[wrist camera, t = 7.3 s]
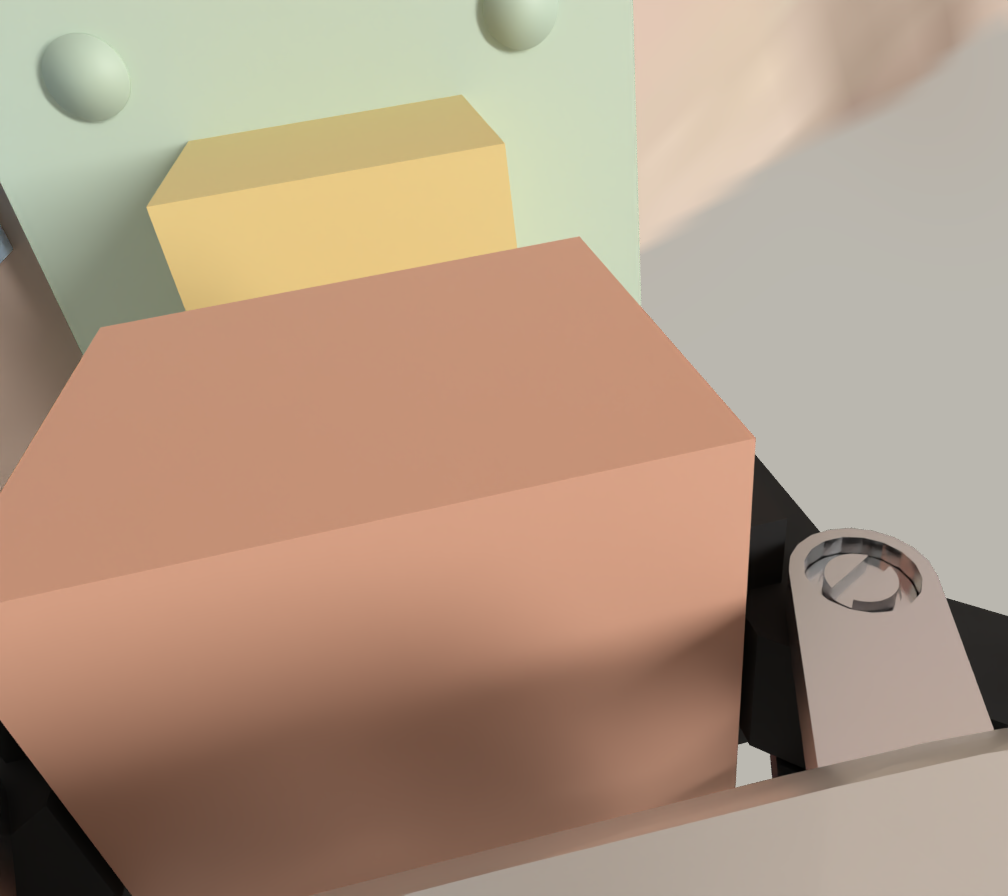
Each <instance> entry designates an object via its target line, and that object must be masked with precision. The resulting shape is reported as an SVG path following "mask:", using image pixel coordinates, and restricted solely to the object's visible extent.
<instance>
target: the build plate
mask: <svg viewBox="0 0 1008 896" xmlns="http://www.w3.org/2000/svg"><path fill="white" fill-rule="evenodd" d="M461 94H462V95H463V96H464V98H465V99H466V100H467V101H468V102H469V103H470V104H471V106H472V107H473V108H474V109H475V110H476V111H477V112H478V113H479V115H480V116H481V117H482V118H483V119H484V120H485V121H486V123H487V124H488V125H489V126H490V127H491V128H492V129H493V130H494V132H495V133H496V134H497V135H498V136H499V137H500V138H501V139H502V141H503V142H504V143H505V148H506V156H507V165H508V173H509V182H510V190H511V199H512V207H513V216H514V224H515V233H516V241H517V248H521V247H526V246H531V245H536V244H542V243H547V242H552V241H557V240H563V239H568V238H573V237H578V236H580V237H581V239H582V240H583V241H584V242H585V243H586V244H587V246H588V247H589V248H590V249H591V250H592V251H593V252H594V254H595V255H596V256H597V257H598V258H599V259H600V260H601V262H602V263H603V264H604V265H605V266H606V267H607V268H608V270H609V271H610V272H611V273H612V274H613V275H614V276H615V278H616V279H617V280H618V281H619V282H620V283H621V284H622V286H623V287H624V288H625V289H626V290H627V291H628V292H629V294H630V295H631V296H632V297H633V298H634V299H635V301H636V302H637V303H638V304H639V305H640V306H641V282H640V245H639V209H638V172H637V135H636V99H635V62H634V26H633V0H0V182H1V185H2V187H3V189H4V191H5V193H6V195H7V197H8V199H9V201H10V203H11V206H12V208H13V210H14V212H15V214H16V216H17V218H18V220H19V222H20V224H21V227H22V229H23V231H24V233H25V235H26V237H27V239H28V241H29V243H30V245H31V248H32V250H33V252H34V254H35V256H36V258H37V260H38V262H39V264H40V266H41V269H42V271H43V273H44V275H45V277H46V279H47V281H48V283H49V285H50V287H51V290H52V292H53V294H54V296H55V298H56V300H57V302H58V304H59V306H60V308H61V311H62V313H63V315H64V317H65V319H66V321H67V323H68V325H69V327H70V329H71V331H72V334H73V336H74V338H75V340H76V342H77V344H78V346H79V348H80V350H81V352H82V355H84V353H85V352H86V350H87V348H88V347H89V345H90V343H91V342H92V340H93V338H94V337H95V335H96V334H97V332H98V330H99V329H100V327H105V326H111V325H116V324H121V323H126V322H132V321H137V320H142V319H147V318H153V317H158V316H163V315H168V314H174V313H179V312H184V311H185V308H184V305H183V303H182V300H181V297H180V295H179V292H178V289H177V287H176V284H175V282H174V279H173V276H172V274H171V271H170V268H169V266H168V263H167V261H166V258H165V255H164V253H163V250H162V247H161V245H160V242H159V240H158V237H157V234H156V232H155V229H154V226H153V224H152V221H151V219H150V216H149V213H148V211H147V208H146V207H147V205H148V203H149V202H150V200H151V199H152V197H153V196H154V194H155V193H156V191H157V189H158V188H159V186H160V185H161V183H162V182H163V180H164V179H165V177H166V175H167V174H168V172H169V171H170V169H171V168H172V166H173V165H174V163H175V161H176V160H177V158H178V157H179V155H180V154H181V152H182V150H183V149H184V147H185V146H186V144H187V143H188V141H192V140H198V139H204V138H210V137H216V136H221V135H227V134H233V133H239V132H245V131H251V130H257V129H262V128H268V127H274V126H280V125H286V124H292V123H298V122H303V121H309V120H315V119H321V118H327V117H333V116H339V115H344V114H350V113H356V112H362V111H368V110H374V109H380V108H385V107H391V106H397V105H403V104H409V103H415V102H420V101H426V100H432V99H438V98H444V97H450V96H456V95H461Z"/></svg>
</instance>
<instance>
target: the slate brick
mask: <svg viewBox="0 0 1008 896" xmlns="http://www.w3.org/2000/svg"><path fill="white" fill-rule="evenodd" d="M12 250H13V248H12V246H11V244H10V242H9V240H8V238H7V236H6V234H5V232H4V231H3V229H2V227H1V225H0V263H1V262H2V261H3V260H4V259H5V258H6V257H7V256H8V255H9V254H10V253H11V251H12Z"/></svg>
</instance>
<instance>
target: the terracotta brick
mask: <svg viewBox="0 0 1008 896" xmlns="http://www.w3.org/2000/svg"><path fill="white" fill-rule="evenodd" d="M755 442H756V438H755V437H754V436H753V435H752V433H751V432H750V431H749V430H748V429H747V428H746V427H745V426H744V425H743V423H742V422H741V421H740V420H739V419H738V417H737V416H736V415H735V414H734V413H733V412H732V411H731V409H730V408H729V407H728V406H727V405H726V404H725V402H723V400H722V399H721V398H720V397H719V396H718V395H717V394H716V392H715V391H714V390H713V389H712V388H711V387H710V385H709V384H708V383H707V382H706V381H705V380H704V378H703V377H702V376H701V375H700V374H699V373H698V372H697V370H696V369H695V368H694V367H693V366H692V365H691V364H690V362H689V361H688V360H687V359H686V358H685V357H684V356H683V355H682V353H681V352H680V351H679V350H678V349H677V348H676V347H675V345H674V344H673V343H672V342H671V341H670V340H669V338H668V337H667V336H666V335H665V334H664V333H663V332H662V330H661V329H660V328H659V327H658V326H657V325H656V323H655V322H654V321H653V320H652V319H651V318H650V317H649V315H648V314H647V313H646V312H645V311H644V310H643V309H642V307H641V306H640V305H639V304H638V303H637V302H636V301H635V299H634V298H633V297H632V296H631V295H630V294H629V292H628V291H627V290H626V289H625V288H624V287H623V286H622V284H621V283H620V282H619V281H618V280H617V279H616V278H615V276H614V275H613V274H612V273H611V272H610V271H609V270H608V268H607V267H606V266H605V265H604V264H603V263H602V262H601V260H600V259H599V258H598V257H597V256H596V255H595V254H594V252H593V251H592V250H591V249H590V248H589V247H588V246H587V244H586V243H585V242H584V241H583V240H582V239H581V237H580V236H578V237H573V238H568V239H563V240H557V241H552V242H547V243H542V244H536V245H531V246H526V247H521V248H515V249H510V250H505V251H500V252H494V253H489V254H484V255H479V256H473V257H468V258H463V259H458V260H452V261H447V262H442V263H437V264H431V265H426V266H421V267H416V268H410V269H405V270H400V271H394V272H389V273H384V274H379V275H373V276H368V277H363V278H358V279H352V280H347V281H342V282H337V283H331V284H326V285H321V286H316V287H310V288H305V289H300V290H295V291H289V292H284V293H279V294H274V295H268V296H263V297H258V298H253V299H247V300H242V301H237V302H232V303H226V304H221V305H216V306H211V307H205V308H200V309H195V310H189V311H184V312H179V313H174V314H168V315H163V316H158V317H153V318H147V319H142V320H137V321H132V322H126V323H121V324H116V325H111V326H105V327H100V329H99V330H98V332H97V334H96V335H95V337H94V338H93V340H92V342H91V343H90V345H89V347H88V348H87V350H86V352H85V353H84V355H83V357H82V358H81V360H80V362H79V363H78V365H77V367H76V368H75V370H74V372H73V373H72V375H71V377H70V378H69V380H68V382H67V383H66V385H65V387H64V388H63V390H62V391H61V393H60V395H59V396H58V398H57V400H56V401H55V403H54V405H53V406H52V408H51V410H50V411H49V413H48V415H47V416H46V418H45V420H44V421H43V423H42V425H41V426H40V428H39V430H38V431H37V433H36V435H35V436H34V438H33V439H32V441H31V443H30V444H29V446H28V448H27V449H26V451H25V453H24V454H23V456H22V458H21V459H20V461H19V463H18V464H17V466H16V468H15V469H14V471H13V473H12V474H11V476H10V478H9V479H8V481H7V483H6V484H5V486H4V488H3V489H2V491H1V492H0V720H1V722H2V723H3V724H4V726H5V727H6V728H7V730H8V731H9V732H10V734H11V735H12V736H13V738H14V739H15V740H16V742H17V743H18V744H19V746H20V747H21V748H22V750H23V751H24V752H25V754H26V755H27V756H28V758H29V759H30V760H31V762H32V763H33V764H34V766H35V767H36V768H37V770H38V771H39V772H40V774H41V775H42V776H43V778H44V779H45V780H46V782H47V783H48V784H49V786H50V787H51V788H52V790H53V791H54V792H55V794H56V795H57V796H58V798H59V799H60V800H61V802H62V803H63V804H64V806H65V807H66V808H67V810H68V811H69V812H70V814H71V815H72V816H73V818H74V819H75V820H76V822H77V823H78V824H79V826H80V827H81V828H82V830H83V831H84V832H85V834H86V835H87V836H88V838H89V839H90V840H91V842H92V843H93V844H94V846H95V847H96V848H97V850H98V851H99V852H100V854H101V855H102V856H103V858H104V859H105V860H106V862H107V863H108V864H109V866H110V867H111V868H112V870H113V871H114V872H115V874H116V875H117V876H118V878H119V879H120V880H121V882H122V883H123V884H124V886H125V887H126V888H127V889H128V891H129V892H130V893H131V895H132V896H310V895H313V894H317V893H321V892H325V891H329V890H333V889H337V888H341V887H345V886H349V885H352V884H356V883H360V882H364V881H368V880H372V879H376V878H380V877H384V876H387V875H391V874H395V873H399V872H403V871H407V870H411V869H415V868H419V867H423V866H427V865H431V864H435V863H438V862H442V861H446V860H450V859H454V858H458V857H462V856H466V855H470V854H474V853H478V852H482V851H486V850H489V849H493V848H497V847H501V846H505V845H509V844H513V843H517V842H521V841H525V840H529V839H533V838H537V837H540V836H544V835H548V834H552V833H556V832H560V831H564V830H568V829H572V828H576V827H580V826H584V825H588V824H592V823H596V822H600V821H604V820H608V819H612V818H616V817H620V816H624V815H628V814H632V813H636V812H640V811H644V810H648V809H652V808H656V807H660V806H664V805H668V804H672V803H676V802H680V801H684V800H688V799H692V798H696V797H700V796H704V795H708V794H712V793H716V792H720V791H724V790H728V789H732V788H735V785H736V767H737V750H738V734H739V716H740V699H741V682H742V665H743V648H744V631H745V613H746V596H747V579H748V562H749V545H750V528H751V510H752V493H753V476H754V459H755Z"/></svg>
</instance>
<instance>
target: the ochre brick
mask: <svg viewBox="0 0 1008 896" xmlns="http://www.w3.org/2000/svg"><path fill="white" fill-rule="evenodd" d="M146 208H147V211H148V213H149V216H150V219H151V221H152V224H153V226H154V229H155V232H156V234H157V237H158V240H159V242H160V245H161V247H162V250H163V253H164V255H165V258H166V261H167V263H168V266H169V268H170V271H171V274H172V276H173V279H174V282H175V284H176V287H177V289H178V292H179V295H180V297H181V300H182V303H183V305H184V308H185V311H189V310H195V309H200V308H205V307H211V306H216V305H221V304H226V303H232V302H237V301H242V300H247V299H253V298H258V297H263V296H268V295H274V294H279V293H284V292H289V291H295V290H300V289H305V288H310V287H316V286H321V285H326V284H331V283H337V282H342V281H347V280H352V279H358V278H363V277H368V276H373V275H379V274H384V273H389V272H394V271H400V270H405V269H410V268H416V267H421V266H426V265H431V264H437V263H442V262H447V261H452V260H458V259H463V258H468V257H473V256H479V255H484V254H489V253H494V252H500V251H505V250H510V249H515V248H517V241H516V233H515V224H514V216H513V207H512V199H511V190H510V182H509V173H508V165H507V156H506V148H505V143H504V142H503V141H502V139H501V138H500V137H499V136H498V135H497V134H496V133H495V132H494V130H493V129H492V128H491V127H490V126H489V125H488V124H487V123H486V121H485V120H484V119H483V118H482V117H481V116H480V115H479V113H478V112H477V111H476V110H475V109H474V108H473V107H472V106H471V104H470V103H469V102H468V101H467V100H466V99H465V98H464V96H463V95H462V94H461V95H456V96H450V97H444V98H438V99H432V100H426V101H420V102H415V103H409V104H403V105H397V106H391V107H385V108H380V109H374V110H368V111H362V112H356V113H350V114H344V115H339V116H333V117H327V118H321V119H315V120H309V121H303V122H298V123H292V124H286V125H280V126H274V127H268V128H262V129H257V130H251V131H245V132H239V133H233V134H227V135H221V136H216V137H210V138H204V139H198V140H192V141H188V143H187V144H186V146H185V147H184V149H183V150H182V152H181V154H180V155H179V157H178V158H177V160H176V161H175V163H174V165H173V166H172V168H171V169H170V171H169V172H168V174H167V175H166V177H165V179H164V180H163V182H162V183H161V185H160V186H159V188H158V189H157V191H156V193H155V194H154V196H153V197H152V199H151V200H150V202H149V203H148V205H147V207H146Z"/></svg>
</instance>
